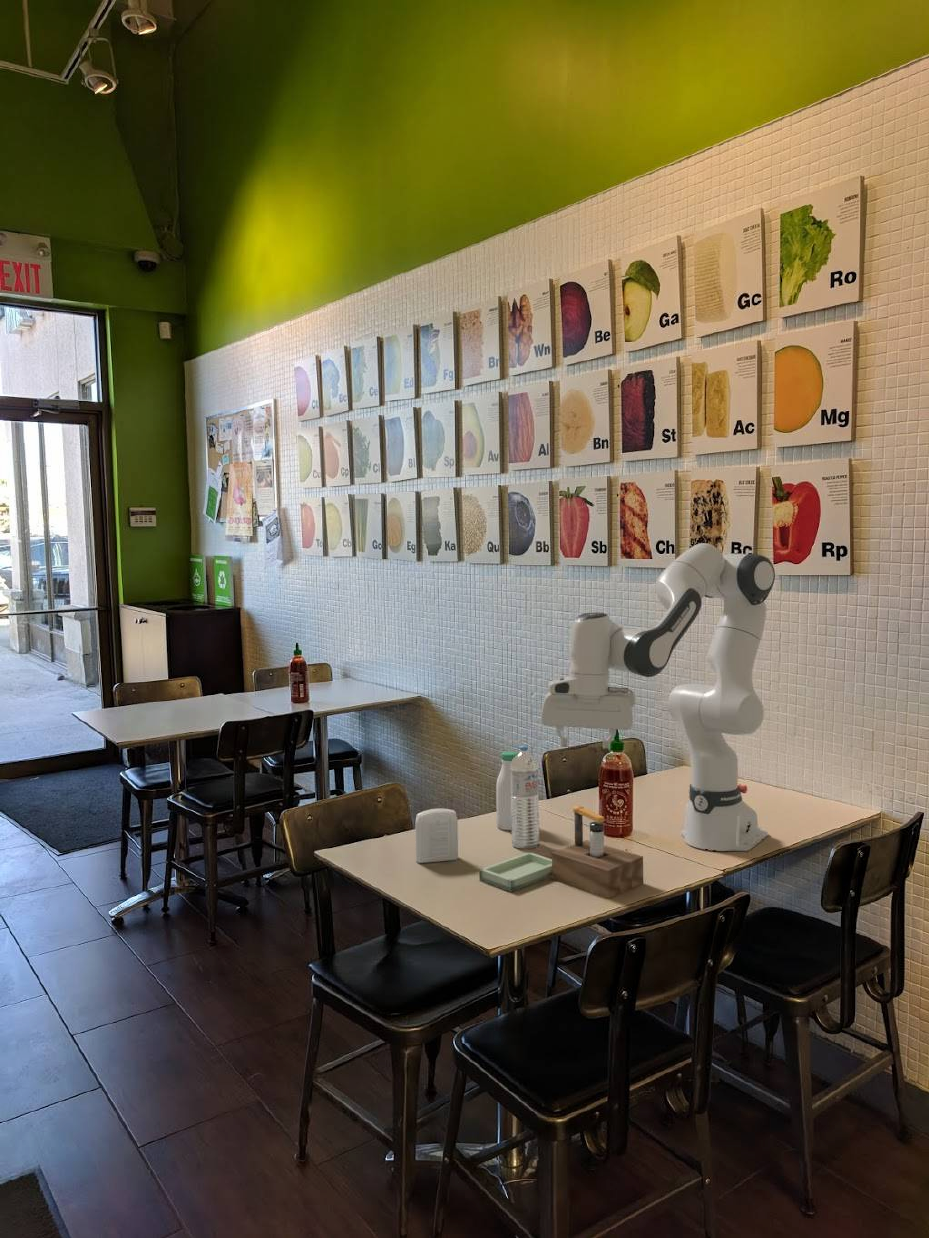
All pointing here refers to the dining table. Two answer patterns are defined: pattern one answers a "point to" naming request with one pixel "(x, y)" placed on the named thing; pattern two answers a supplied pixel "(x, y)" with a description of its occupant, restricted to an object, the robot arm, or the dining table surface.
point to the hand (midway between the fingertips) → (585, 747)
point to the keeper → (588, 814)
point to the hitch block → (596, 867)
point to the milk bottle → (504, 792)
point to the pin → (596, 840)
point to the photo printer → (436, 835)
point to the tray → (517, 872)
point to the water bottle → (524, 800)
